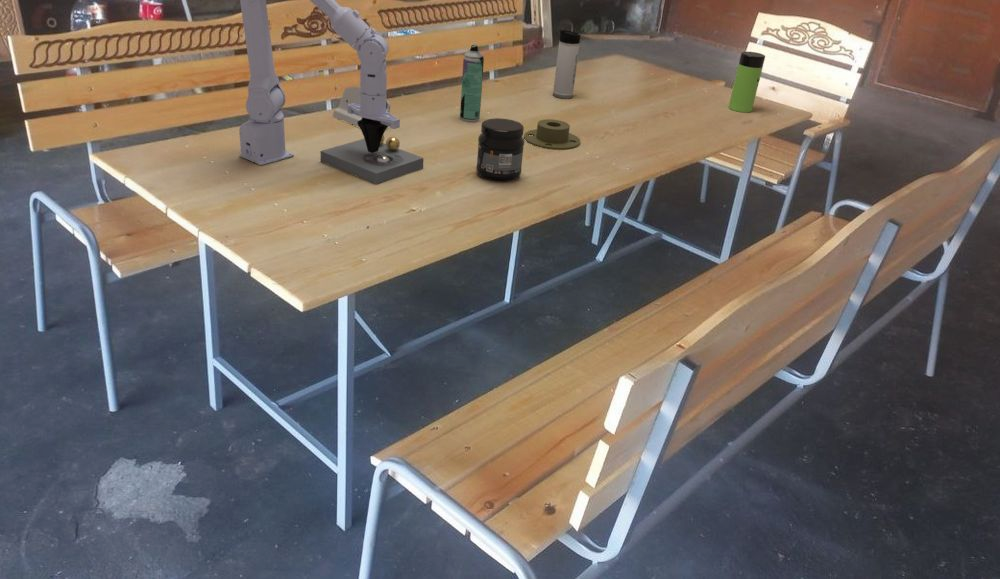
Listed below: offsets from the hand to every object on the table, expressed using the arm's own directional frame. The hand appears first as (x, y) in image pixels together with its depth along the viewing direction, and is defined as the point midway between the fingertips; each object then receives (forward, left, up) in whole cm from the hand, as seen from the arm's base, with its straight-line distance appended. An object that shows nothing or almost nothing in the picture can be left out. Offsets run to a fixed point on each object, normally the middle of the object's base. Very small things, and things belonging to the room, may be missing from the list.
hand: (373, 151), depth 177 cm
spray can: (+45, +8, -4) cm, 46 cm away
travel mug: (+87, +5, -4) cm, 87 cm away
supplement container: (+18, -23, -4) cm, 29 cm away
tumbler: (+124, -39, -4) cm, 130 cm away
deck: (0, 0, -3) cm, 3 cm away
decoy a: (+6, +4, +1) cm, 7 cm away
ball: (0, -3, -2) cm, 4 cm away
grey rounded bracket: (+20, +24, -4) cm, 32 cm away
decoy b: (+6, -1, +1) cm, 6 cm away
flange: (+49, -17, -4) cm, 52 cm away
